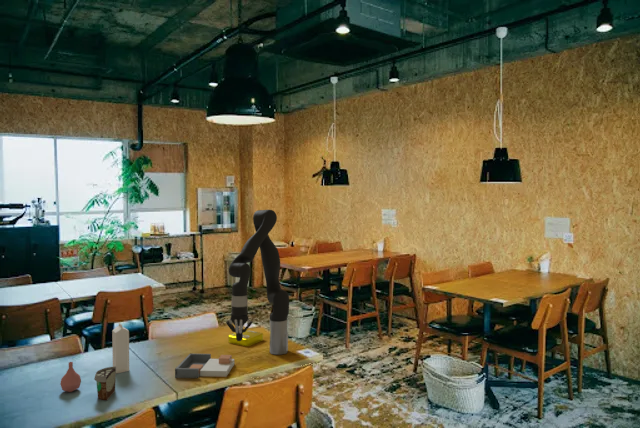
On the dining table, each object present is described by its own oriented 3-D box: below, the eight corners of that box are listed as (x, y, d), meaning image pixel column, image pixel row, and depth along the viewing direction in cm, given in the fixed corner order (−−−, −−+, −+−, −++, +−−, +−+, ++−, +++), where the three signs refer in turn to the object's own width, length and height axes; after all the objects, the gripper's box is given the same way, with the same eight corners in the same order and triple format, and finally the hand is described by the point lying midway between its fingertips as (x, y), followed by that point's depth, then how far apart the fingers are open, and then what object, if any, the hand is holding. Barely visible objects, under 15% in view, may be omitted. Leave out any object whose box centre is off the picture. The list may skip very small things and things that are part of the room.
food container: (101, 389, 199) (101, 366, 198) (116, 389, 199) (116, 366, 199) (89, 402, 186) (89, 377, 186) (105, 402, 187) (105, 377, 186)
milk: (115, 373, 217) (115, 326, 216) (112, 369, 222) (111, 323, 221) (129, 370, 220) (128, 324, 219) (126, 367, 225) (125, 321, 224)
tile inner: (231, 360, 228) (231, 354, 228) (229, 363, 223) (229, 358, 223) (221, 359, 228) (221, 354, 228) (218, 363, 223) (218, 358, 223)
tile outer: (203, 369, 221) (203, 364, 220) (199, 373, 216) (199, 368, 215) (192, 369, 221) (192, 364, 221) (189, 373, 216) (189, 368, 216)
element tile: (264, 340, 269) (264, 332, 269) (247, 347, 256) (247, 338, 256) (244, 336, 277) (244, 328, 277) (226, 343, 264) (226, 334, 264)
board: (234, 364, 230) (234, 359, 229) (226, 376, 214) (226, 371, 213) (210, 363, 230) (210, 358, 230) (200, 376, 214) (200, 370, 214)
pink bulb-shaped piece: (59, 395, 192) (59, 366, 192) (61, 388, 199) (60, 360, 199) (80, 392, 195) (80, 364, 195) (81, 386, 202) (81, 358, 202)
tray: (210, 361, 233) (210, 353, 232) (197, 378, 212) (197, 369, 212) (189, 361, 233) (189, 353, 233) (175, 377, 212) (174, 368, 212)
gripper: (254, 303, 228) (254, 338, 228) (227, 302, 229) (227, 338, 229) (251, 306, 220) (251, 343, 221) (223, 306, 221) (223, 342, 222)
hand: (239, 340), depth 225 cm, fingers closed
